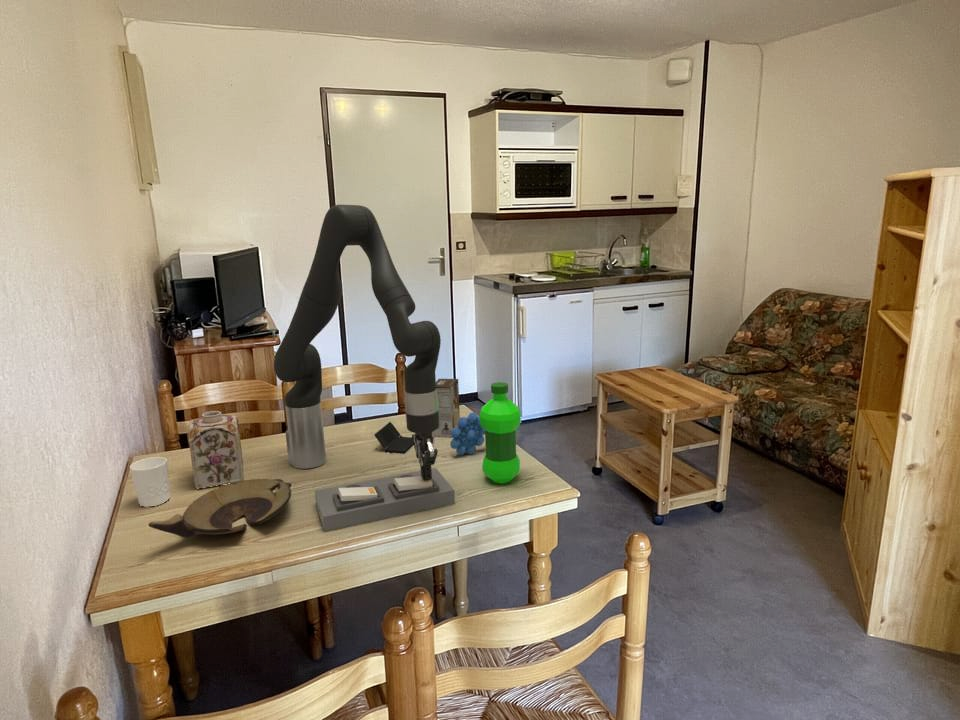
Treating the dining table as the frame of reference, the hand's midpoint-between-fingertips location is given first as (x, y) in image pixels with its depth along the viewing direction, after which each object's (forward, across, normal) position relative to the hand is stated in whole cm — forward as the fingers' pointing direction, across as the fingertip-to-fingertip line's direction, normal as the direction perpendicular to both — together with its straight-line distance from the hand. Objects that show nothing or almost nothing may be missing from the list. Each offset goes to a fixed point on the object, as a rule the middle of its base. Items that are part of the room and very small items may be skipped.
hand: (426, 478), depth 143 cm
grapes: (+6, +23, -19) cm, 31 cm away
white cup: (+5, +28, +61) cm, 67 cm away
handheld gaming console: (+6, +37, -2) cm, 38 cm away
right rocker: (0, 0, +3) cm, 3 cm away
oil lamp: (+6, +9, +44) cm, 45 cm away
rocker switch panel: (+6, +3, +10) cm, 12 cm away
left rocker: (0, 0, +16) cm, 16 cm away
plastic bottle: (+6, +3, -21) cm, 22 cm away
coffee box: (+6, +42, -19) cm, 46 cm away
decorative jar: (+5, +36, +46) cm, 58 cm away
